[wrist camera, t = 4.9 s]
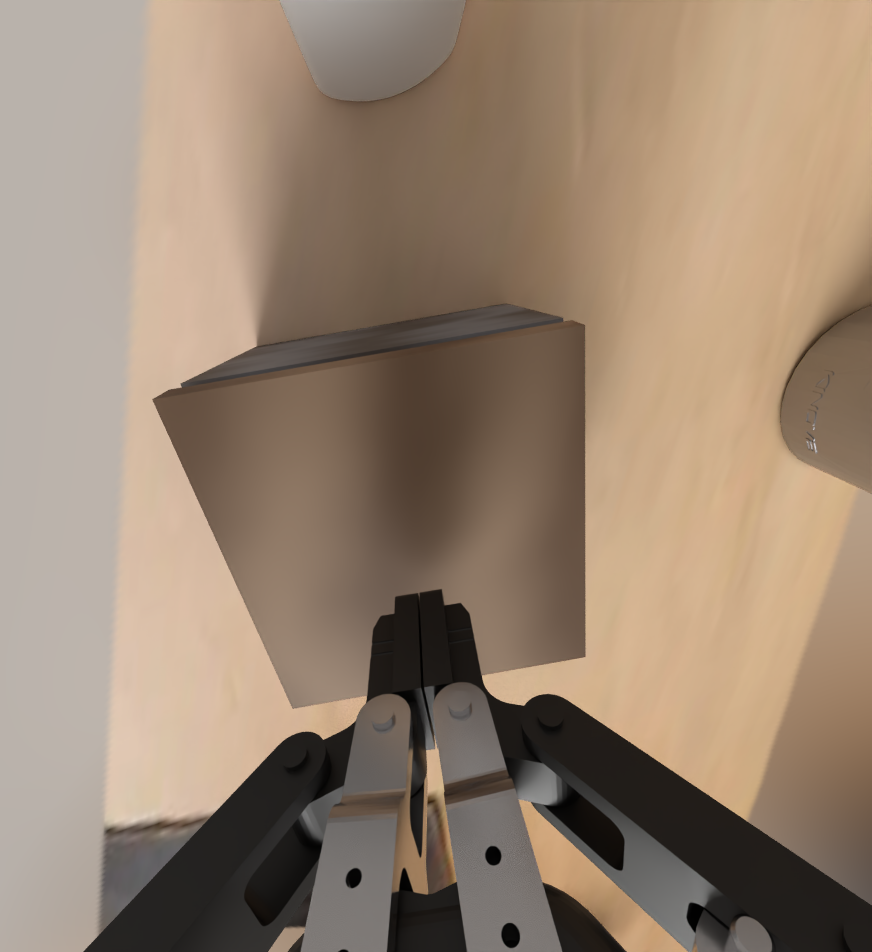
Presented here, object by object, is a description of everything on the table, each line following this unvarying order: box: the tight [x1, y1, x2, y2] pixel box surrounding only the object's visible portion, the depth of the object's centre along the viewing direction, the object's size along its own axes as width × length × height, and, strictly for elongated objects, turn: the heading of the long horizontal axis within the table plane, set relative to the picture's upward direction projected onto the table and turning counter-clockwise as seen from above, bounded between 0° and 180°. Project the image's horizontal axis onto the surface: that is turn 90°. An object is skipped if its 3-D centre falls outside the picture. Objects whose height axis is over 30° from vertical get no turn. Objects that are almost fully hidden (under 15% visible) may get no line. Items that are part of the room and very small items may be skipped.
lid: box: [152, 320, 585, 709], centre depth 16 cm, size 12×13×1 cm
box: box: [181, 304, 563, 387], centre depth 20 cm, size 12×13×8 cm
